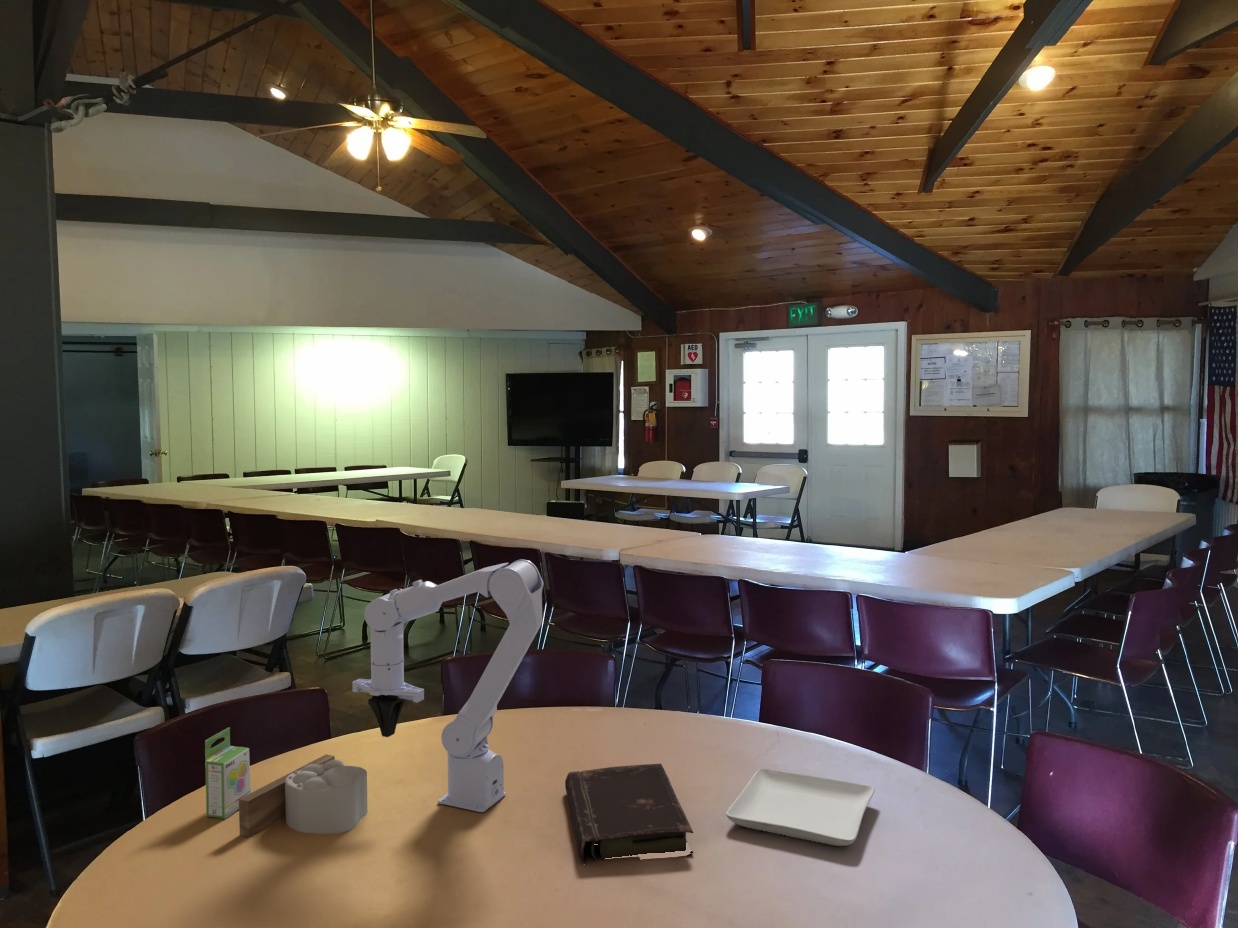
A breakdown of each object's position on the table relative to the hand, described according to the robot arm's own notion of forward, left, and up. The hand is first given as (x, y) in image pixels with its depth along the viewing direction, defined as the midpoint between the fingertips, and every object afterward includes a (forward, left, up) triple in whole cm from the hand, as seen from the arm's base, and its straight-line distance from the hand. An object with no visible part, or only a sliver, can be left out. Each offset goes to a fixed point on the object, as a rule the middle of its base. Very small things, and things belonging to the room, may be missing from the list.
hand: (388, 734), depth 156 cm
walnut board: (+11, +13, -10) cm, 20 cm away
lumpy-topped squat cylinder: (+3, +13, -11) cm, 17 cm away
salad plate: (-71, -20, -11) cm, 75 cm away
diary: (-44, -6, -11) cm, 46 cm away
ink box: (+21, +17, -11) cm, 29 cm away
